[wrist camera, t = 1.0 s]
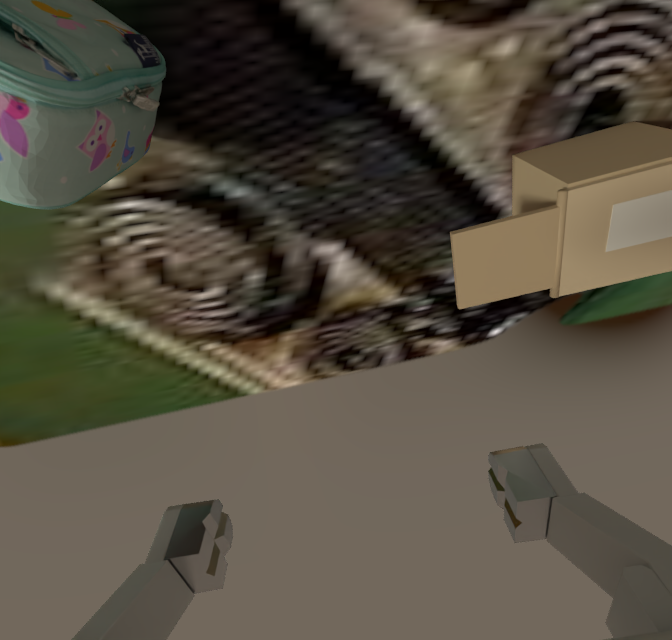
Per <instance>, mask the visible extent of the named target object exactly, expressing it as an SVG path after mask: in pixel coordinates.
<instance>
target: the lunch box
mask: <svg viewBox="0 0 672 640" xmlns="http://www.w3.org/2000/svg"><path fill="white" fill-rule="evenodd" d="M165 75H166V63H165V59H164V57H163V56H162V54H161V53H160V52H159V50H158V49H157V48H156V47H155V46H154V45H153V44H152V43H151V42H150V41H149V40H148V38H147V37H146V36H145V35H141V34H139V33H138V32H137V31H135V30H134V29H132V28H131V27H130V26H128V25H127V24H125V23H124V22H122V21H121V20H119V19H118V18H117V17H115V16H114V15H113V14H111V13H110V12H108V11H107V10H106V9H104V8H103V7H101V6H100V5H98V4H97V3H95V2H94V1H92V0H0V200H1V201H4V202H7V203H11V204H14V205H19V206H24V207H29V208H37V209H57V208H63V207H66V206H69V205H71V204H73V203H75V202H77V201H79V200H80V199H82V198H84V197H85V196H87V195H88V194H90V193H91V192H93V191H95V190H96V189H98V188H99V187H101V186H102V185H103V184H105V183H106V182H108V181H109V180H111V179H112V178H113V177H115V176H116V175H118V174H120V173H121V172H123V171H124V170H126V169H127V168H129V167H130V166H132V165H133V164H134V163H136V162H137V161H138V160H139V159H140V158H142V157H143V156H144V155H145V154H146V153H147V151H148V150H149V147H150V143H151V138H152V132H153V129H154V125H155V119H156V113H157V108H158V106H159V98H160V94H161V90H162V80H163V79H164V78H165Z"/></svg>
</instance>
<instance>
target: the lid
mask: <svg viewBox="0 0 672 640" xmlns="http://www.w3.org/2000/svg"><path fill="white" fill-rule="evenodd" d="M450 236H451V246H452V257H453V267H454V277H455V287H456V297H457V306H458V308H459V309H463V308H467V307H472V306H476V305H480V304H485V303H489V302H493V301H498V300H502V299H506V298H510V297H515V296H519V295H523V294H528V293H532V292H536V291H541V290H545V289H549V288H550V297H552V298H557V297H559V296H563V295H568V294H572V293H576V292H581V291H585V290H589V289H594V288H598V287H603V286H607V285H611V284H616V283H620V282H625V281H629V280H633V279H638V278H642V277H646V276H651V275H655V274H660V273H664V272H668V271H672V161H669V162H665V163H661V164H657V165H653V166H650V167H646V168H642V169H638V170H634V171H630V172H627V173H623V174H619V175H615V176H611V177H608V178H604V179H600V180H596V181H592V182H589V183H585V184H581V185H577V186H573V187H570V188H566V189H560V190H558V191H557V202H556V205H553V206H549V207H545V208H541V209H538V210H534V211H530V212H526V213H522V214H518V215H514V216H510V217H507V218H503V219H499V220H495V221H491V222H487V223H483V224H479V225H476V226H472V227H468V228H464V229H460V230H456V231H452V232H450Z"/></svg>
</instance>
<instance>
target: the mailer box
mask: <svg viewBox="0 0 672 640" xmlns="http://www.w3.org/2000/svg"><path fill="white" fill-rule="evenodd" d="M669 161H672V129H667V128H662V127H658V126H653V125H648V124H644V123H639V122H634V121H633V122H629V123H625V124H622V125H618V126H615V127H611V128H607V129H604V130H600V131H597V132H593V133H589V134H586V135H582V136H579V137H575V138H571V139H568V140H564V141H561V142H557V143H554V144H550V145H546V146H543V147H539V148H536V149H532V150H528V151H525V152H521V153H518V154H514V155H512V216H514V215H518V214H522V213H526V212H530V211H534V210H538V209H541V208H545V207H549V206H553V205H556V202H557V191H558V190H560V189H566V188H570V187H573V186H577V185H581V184H585V183H589V182H592V181H596V180H600V179H604V178H608V177H611V176H615V175H619V174H623V173H627V172H630V171H634V170H638V169H642V168H646V167H650V166H653V165H657V164H661V163H665V162H669Z"/></svg>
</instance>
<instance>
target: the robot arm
mask: <svg viewBox="0 0 672 640" xmlns="http://www.w3.org/2000/svg"><path fill="white" fill-rule="evenodd" d="M488 460H489V463H490V465H491V469H490V470H489V471H488V474H489V475H488V476H489V483H490V487H491V491H492V493H493V496H494V499H495V501H496V503H497V505H498V506H500V507H501V508H502V509H504V521H505V523H506V525H507V527H508V529H509V532H510V534H511V536H512V538H513V540H514V542H515V543H517V542H526V541H534V540H541V539H547V541H548V542H549V543H550V544H551V545H552V546H553V547H554V548H556V549H557V550H558V551H559V552H560V553H561V554H563V555H564V556H565V557H566V558H567V559H568V560H570V561H571V562H572V563H573V564H574V565H575V566H576V567H578V568H579V569H580V570H581V571H582V572H583V573H585V574H586V575H587V576H588V577H589V578H590V579H591V580H593V581H594V582H595V583H596V584H597V585H598V586H600V587H601V588H602V589H603V590H604V591H605V592H606V593H608V594H609V595H610V596H611V597H612V598H613V601H612V604H611V607H610V610H609V613H608V616H607V619H606V625H607V627H608V629H609V630H610V632H611V634H612V636H613V638H611V639H604V640H672V546H671V545H670V544H668V543H666V542H665V541H663V540H661V539H660V538H658V537H656V536H655V535H653V534H652V533H650V532H648V531H646V530H645V529H643V528H641V527H640V526H638V525H637V524H635V523H634V522H632V521H630V520H629V519H627V518H625V517H624V516H622V515H620V514H618V513H617V512H615V511H614V510H612V509H610V508H609V507H607V506H606V505H604V504H602V503H601V502H599V501H597V500H596V499H594V498H592V497H591V496H589V495H588V494H586V493H578V491H577V490H576V488H575V487H574V486H573V484H572V483H571V481H570V480H569V478H568V477H567V475H566V474H565V472H564V471H563V470H562V468H561V467H560V465H559V464H558V462H557V461H556V459H555V458H554V457H553V455H552V454H551V452H550V451H549V449H548V448H547V446H545V445H544V444H535V445H530V446H525V447H523V446H522V447H516V448H511V449H506V450H500V451H495V452H490V453H489V455H488ZM222 508H223V505H222V503H221V502H220V500H219V499H217V500H210V501H203V502H196V503H190V504H183V505H176V506H170V507H168V508H167V510H166V511H165V512H164V514H163V517H162V520H161V522H160V525H159V528H158V530H157V533H156V535H155V538H154V541H153V543H152V546H151V548H150V551H149V553H148V556H147V559H146V562H145V564H140V565H139V566H138V567H137V568H136V570H135V571H133V573H132V574H131V575H130V576H129V577H128V578H127V579H126V580H125V582H123V584H122V585H121V586H120V587H119V588H118V589H117V590H116V591H115V592H114V594H113V595H112V596H111V597H110V598H109V599H108V600H107V601H106V602H105V603H104V604H103V605H102V607H101V608H100V609H99V610H98V611H97V612H96V613H95V614H94V616H92V618H91V619H90V620H89V621H88V622H87V623H86V624H85V625H84V626H83V628H82V629H81V630H80V631H79V632H78V633H77V634H76V635H75V636H74V638H72V640H166V639H167V638H168V636H169V635H170V633H171V632H172V630H173V629H174V627H175V625H176V624H177V622H178V621H179V619H180V617H181V616H182V614H183V613H184V611H185V610H186V608H187V607H188V605H189V604H190V602H191V601H192V599H193V597H194V594H196V593H201V592H206V591H212V590H217V589H222V588H223V585H224V580H225V575H226V570H227V565H228V563H227V561H226V559H225V557H224V556H225V555H226V553H227V552H228V551H229V549H230V548H231V543H232V538H233V531H232V530H233V529H232V523H231V520H230V518H229V516H228V514H226V513H224V512H222Z"/></svg>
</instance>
